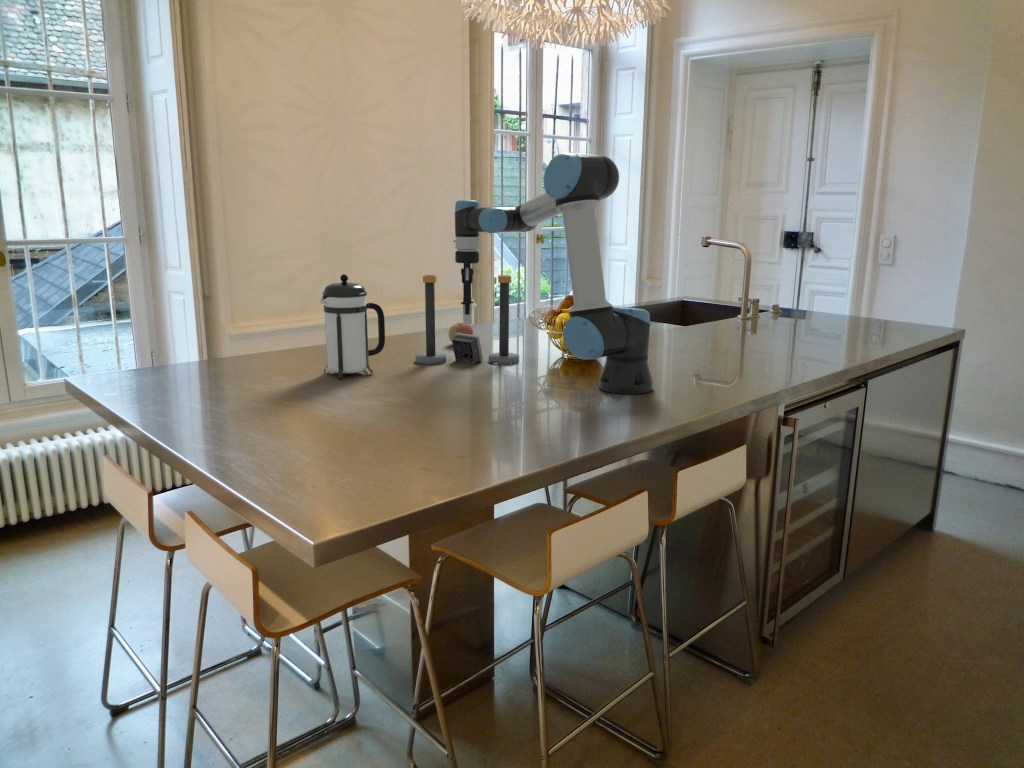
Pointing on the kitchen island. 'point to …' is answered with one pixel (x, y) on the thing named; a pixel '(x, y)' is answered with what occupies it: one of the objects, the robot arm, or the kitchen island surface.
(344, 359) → the coffee press
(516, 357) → the post
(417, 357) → the post
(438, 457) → the kitchen island surface
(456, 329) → the apple
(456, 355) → the electrical switch
